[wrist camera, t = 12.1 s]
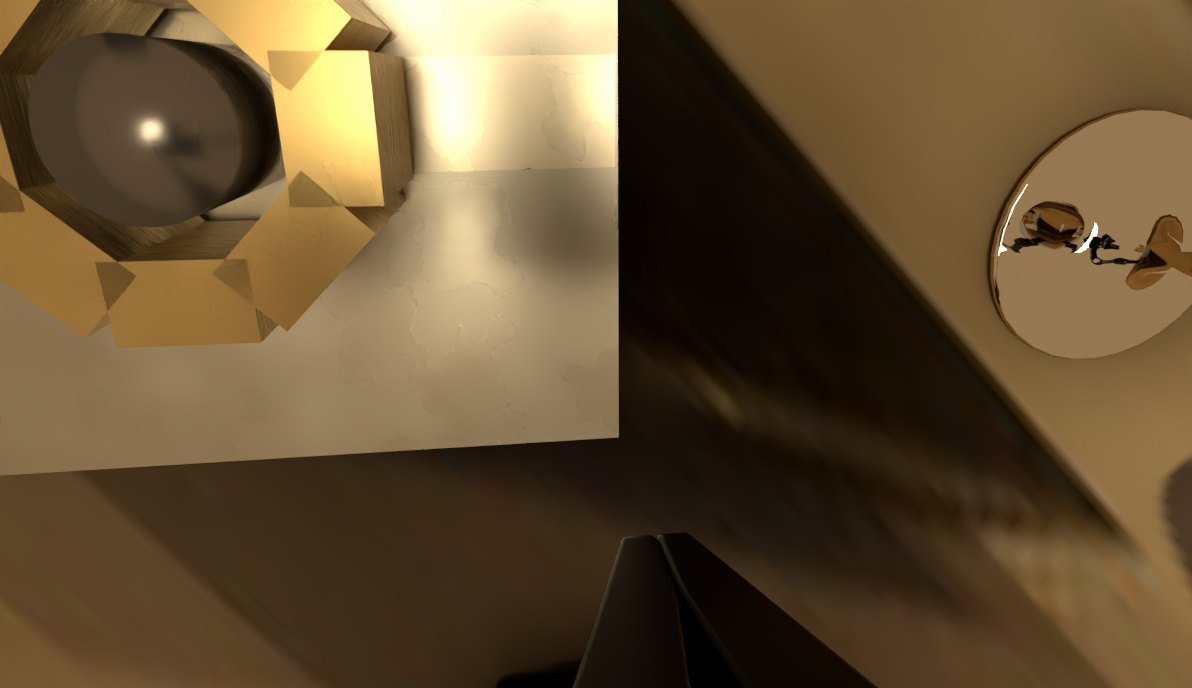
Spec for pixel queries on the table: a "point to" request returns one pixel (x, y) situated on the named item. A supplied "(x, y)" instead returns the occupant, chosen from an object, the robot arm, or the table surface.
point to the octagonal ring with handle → (197, 247)
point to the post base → (378, 272)
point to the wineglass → (1099, 237)
